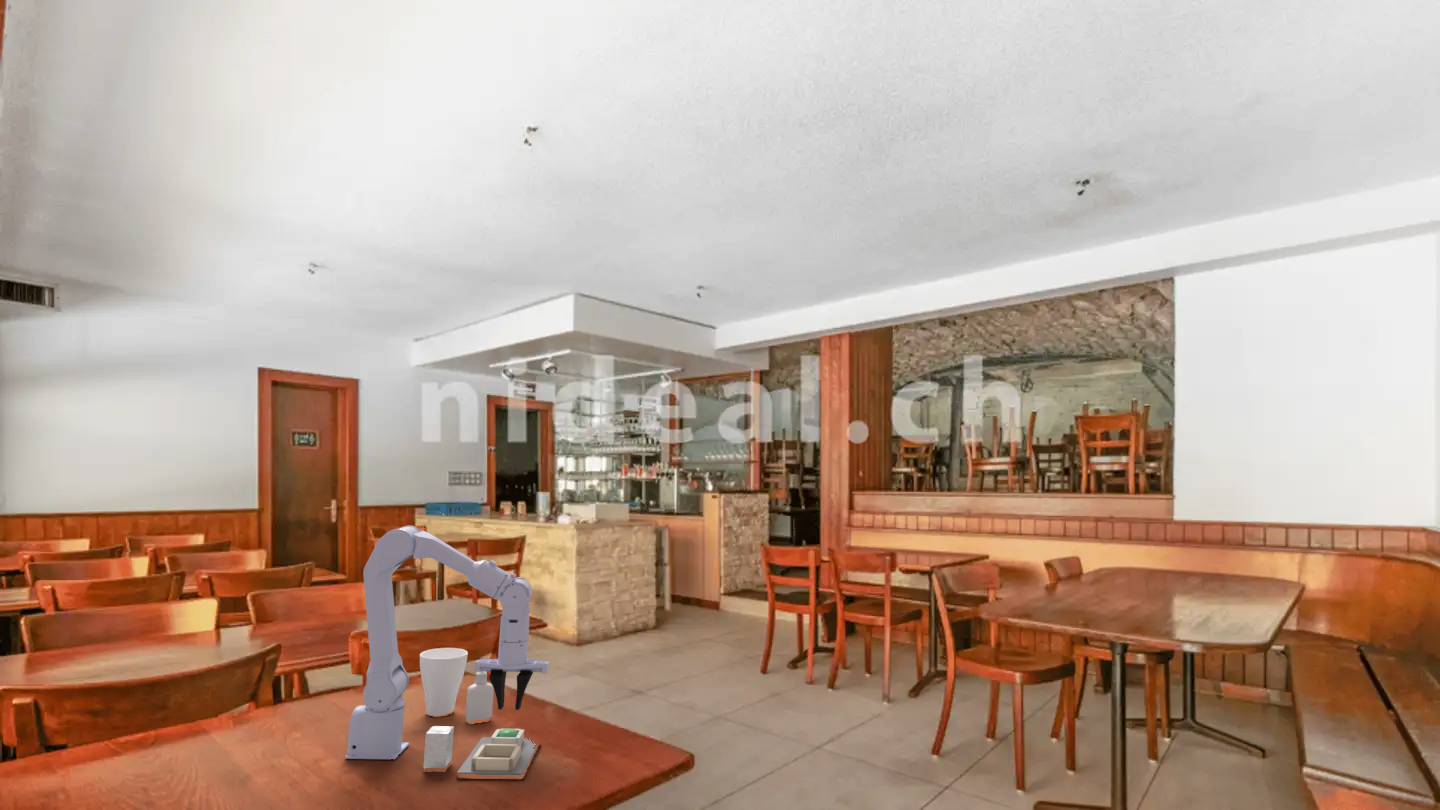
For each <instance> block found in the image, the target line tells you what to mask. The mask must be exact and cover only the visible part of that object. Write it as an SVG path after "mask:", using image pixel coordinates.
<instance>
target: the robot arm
mask: <svg viewBox="0 0 1440 810" xmlns="http://www.w3.org/2000/svg"><path fill="white" fill-rule="evenodd" d="M412 557H413V559H415V560H416V559H433V560H435V561H436V562H439V563H441V564H443V565H444V566H447V567H449V568H451V569H453V570H454V571H456V572H459V573H460V574H462V575H465V577H466V579H467V582H468V585H469V586H471V587H472V588H474V589H475V590H476V589H477V590H478V591H480V592H481V593H484V594H485V595H486V596H489V598H492V599H493V600H499V602H500V604H501V606H502V610H501V612H502V613H501V617H500V628H499V640H498V657H497V658H492V659H491V658H489V659H477V660H476V661H475V662H474V672H475V673H477V672H480V671H485V672H490V674H489V677H488V678H489V681H490V684H492V685H493V688H494V693H495V696H496V697H495V698H496V701H497V709H498V710H503V708H504V706H505V686H506V679H507V678H506V677H507V672H508V673H509V672H511V673H513V672H515V673H516V672H517V673H518V672H519V673H518V674H517V675H516V697H515V708H514V709H515V710H516V711H519V710H520V709H521V707H522V703H523V702H522V701H523V698H524V694H525V692H526V689H527V687H528V685H529V682H530V680H531V678H532V677H533V673H541V674H548V672H549V667H550V661H545V660H535V659H530V658H529V659H528V647H529V635H530V634H529V630H530V611H531V610H530V609H531V608H530V600H531V598H532V596H533V587H532V585H531V584H530V582H528V580H526V579H525V578H524V577H517V574H516V573H514V572H512V573H509V572H507V571H506V570H504V569H502V568H500V567H499V566H498V565H497V562H496V561H494V560H493V559H490V561H488V560H486V559H482V560H478V561H476V560H473V559H471V558H470V557H468V556H467V555H465V554H464V553H463V552H462V551H459V550H457V549H456V548H454V547H452V546H451V545H449V544H448V543H446V542H445V541H443V540H442V539H439V538H438V537H437V536H435V535H433V534H432V533H429V532H428V531H425V530H420V528H418V527H416V526H414V525H403V526H401V527H400V528H394V529H391V530H389V531H387V532H385V534H383V536H382V537H380V538H379V539H378V540H377V541H376V542H375V544H374V547H373V550H372V552H371V554H370V556H369V558H368V560H367V561H366V564H365V566H364V568H363V573H362V574H363V575H362V576H363V587H364V597H365V598H364V599H365V610H366V612H365V613H366V622H367V634H368V635H367V637H368V646H369V647H368V648H369V649H368V650H369V664H368V668H367V671H366V683H365V686H364V688H363V691H362V699H363V702H364V705H363V704H362V705H360V704H359V705H357V706H356V707H354V709H353V712H352V713H351V715H350V719H349V720H350V721H349V725H348V737H347V749H346V750H347V751H346V755H345V756H344V758H345V759H346V760H347V759H349V760H391V759H393V760H395V759H397V758H398V757H399V756H400V755H401V754H402V752H403V751H404V750H406V748H407V747H408V746H409V744H410V742H406V741H405V742H404V741H403V733H404V732H403V731H404V721H405V719H404V718H405V705H406V701H405V699H404V696H403V694H404V693H405V691H406V690H407V688H408V686H409V682H410V677H409V674H408V672H407V671H406V669H405V667H404V664H403V658H402V656H401V655H400V653H399V648H398V647H399V646H398V636H397V624H396V623H397V622H396V612H395V599H394V598H395V597H394V588H393V576H392V575H394V574H395V572H396V571H397V569H398V568H399V567H401V566H402V564H403V563H404V562H405V561H407V560H408V559H411V558H412ZM496 565H497V566H496ZM399 754H400V755H399ZM398 755H399V756H398Z"/></svg>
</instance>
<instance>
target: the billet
mask: <svg viewBox="0 0 1440 810" xmlns="http://www.w3.org/2000/svg"><path fill="white" fill-rule="evenodd" d="M454 729H455V726H452V725H451V726H449V725H447V726H446V725H443V726H441V725H432V727H430V728H429V729H428V730H427V731H426V733H425V740H424V756H423V768H424V769H425V768H445V767H446V766H447V765H448V763H449V762H450V761H451V759H452V758H453V746H454V745H453V744H454V743H453V742H454V731H455V730H454ZM451 762H452V761H451Z"/></svg>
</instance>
